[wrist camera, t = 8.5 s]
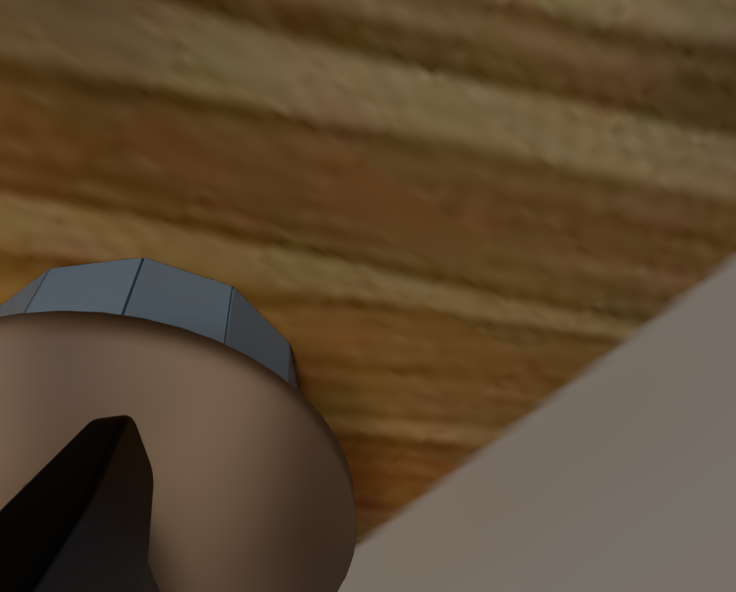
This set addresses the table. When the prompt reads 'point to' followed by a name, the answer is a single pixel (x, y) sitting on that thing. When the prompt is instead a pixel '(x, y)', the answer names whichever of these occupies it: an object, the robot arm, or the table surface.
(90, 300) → the blue bowl
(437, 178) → the table surface
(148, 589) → the walnut lid
